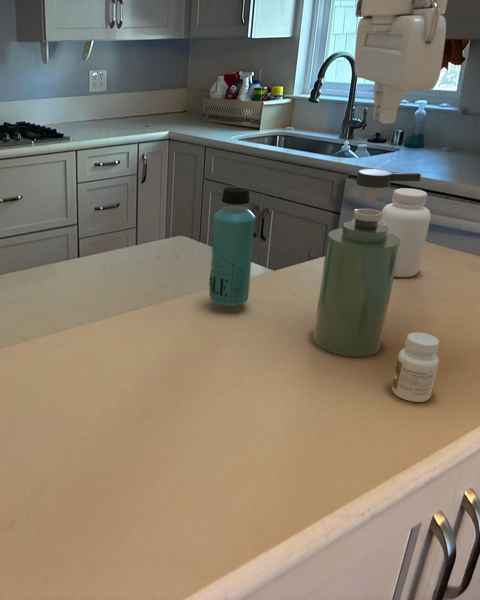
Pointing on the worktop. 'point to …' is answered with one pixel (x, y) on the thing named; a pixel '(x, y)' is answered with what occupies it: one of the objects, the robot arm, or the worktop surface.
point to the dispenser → (356, 286)
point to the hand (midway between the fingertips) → (383, 122)
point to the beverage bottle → (232, 249)
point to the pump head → (381, 180)
